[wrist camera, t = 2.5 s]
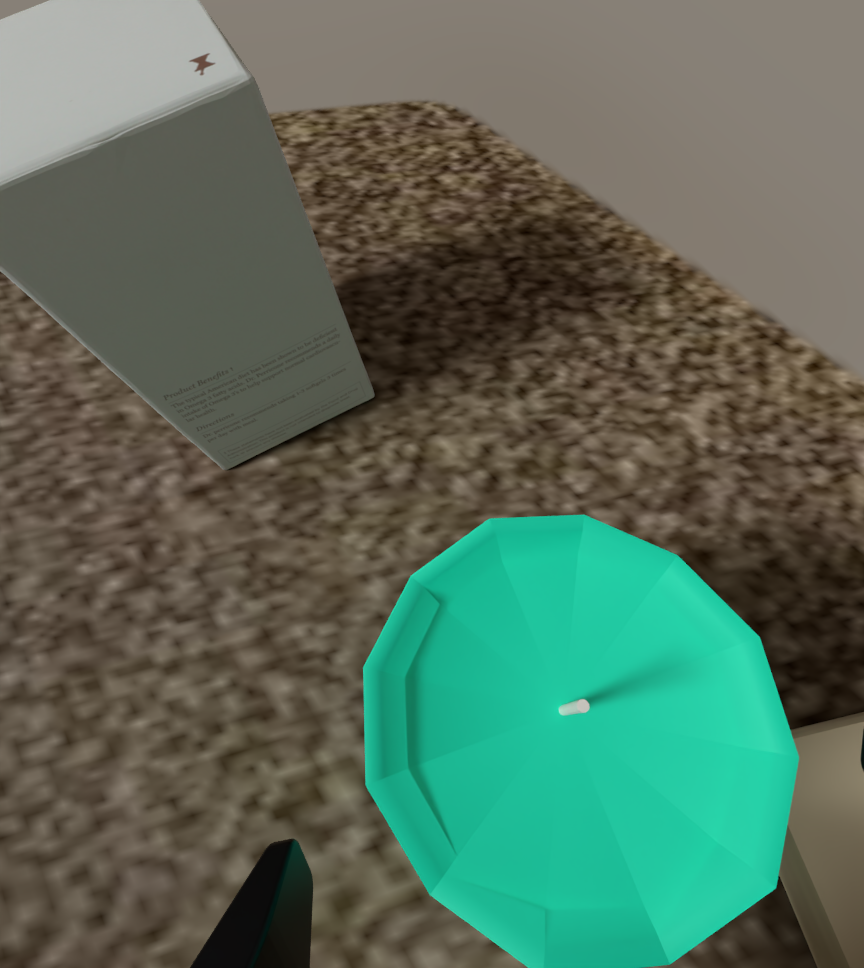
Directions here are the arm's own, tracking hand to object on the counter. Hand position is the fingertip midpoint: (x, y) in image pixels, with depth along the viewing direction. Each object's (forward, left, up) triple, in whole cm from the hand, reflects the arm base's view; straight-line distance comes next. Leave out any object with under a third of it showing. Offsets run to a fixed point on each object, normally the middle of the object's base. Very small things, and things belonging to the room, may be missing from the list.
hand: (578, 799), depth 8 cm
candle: (+1, 0, -9) cm, 9 cm away
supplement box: (+17, +7, -9) cm, 21 cm away
